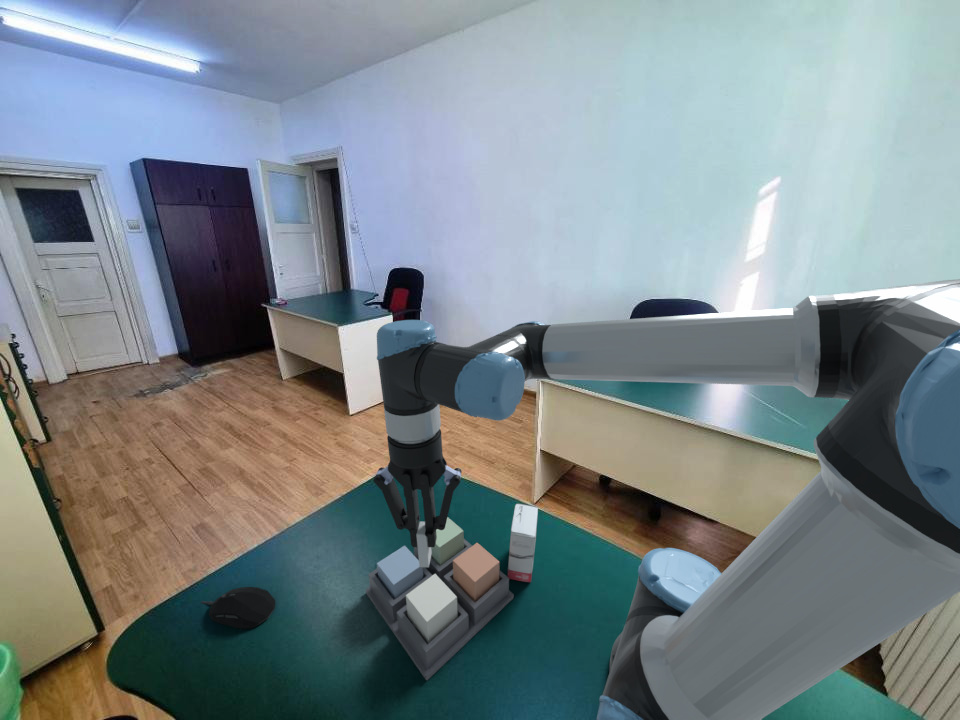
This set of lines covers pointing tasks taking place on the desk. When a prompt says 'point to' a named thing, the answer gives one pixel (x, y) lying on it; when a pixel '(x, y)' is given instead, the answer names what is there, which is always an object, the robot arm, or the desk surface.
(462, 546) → the key sage
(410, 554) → the key slate
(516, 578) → the ink box
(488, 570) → the key terracotta
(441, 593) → the key ivory
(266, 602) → the gaming mouse
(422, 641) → the keypad
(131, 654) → the desk surface
